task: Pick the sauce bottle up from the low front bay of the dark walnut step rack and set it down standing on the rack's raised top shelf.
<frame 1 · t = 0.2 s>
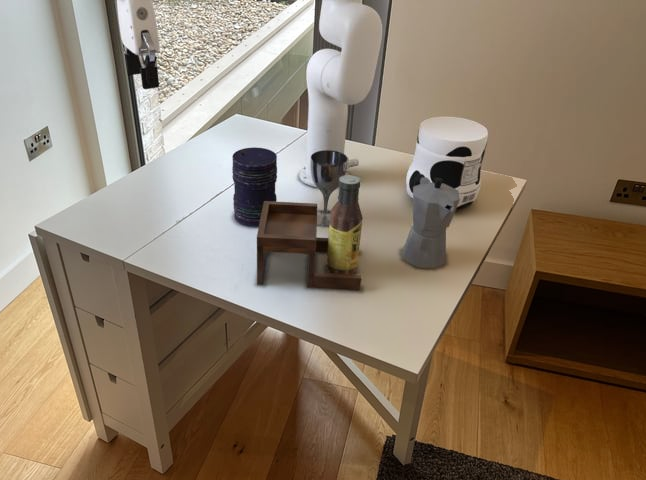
hand: (143, 80, 116), 31 cm above the table, tool pointing down, fingers open, 9 cm apart
sauce bottle: (341, 269, 119), on the table
step rack: (309, 267, 120), on the table
milk container: (439, 199, 144), on the table
dark blue cylinder: (255, 217, 136), on the table
coffeepot: (421, 255, 124), on the table
wine glass: (324, 219, 136), on the table
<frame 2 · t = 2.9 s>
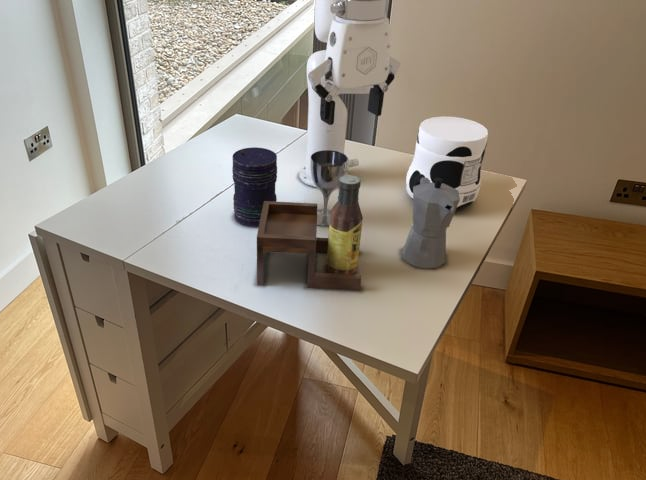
hand: (351, 117, 100), 31 cm above the table, tool pointing down, fingers open, 9 cm apart
nothing on the table moved.
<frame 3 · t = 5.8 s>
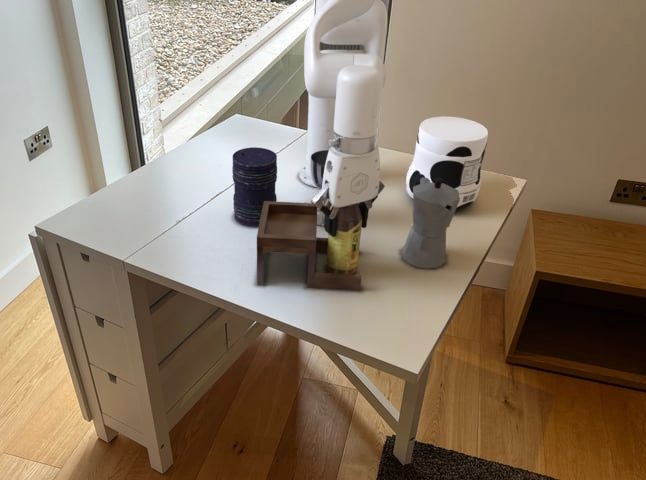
hand: (345, 228, 113), 10 cm above the table, tool pointing down, fingers closed on sauce bottle, 6 cm apart
sauce bottle: (341, 269, 119), on the table, touching gripper
everything else where it was.
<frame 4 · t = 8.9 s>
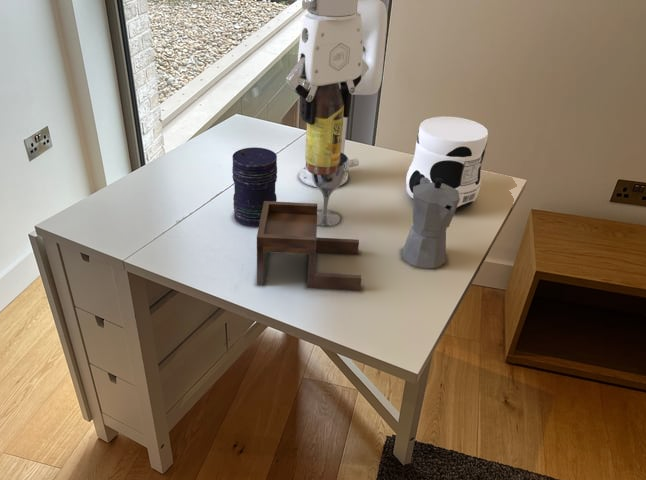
hand: (325, 117, 101), 31 cm above the table, tool pointing down, fingers closed on sauce bottle, 6 cm apart
sauce bottle: (322, 170, 107), point 22 cm above the table, touching gripper
everything else where it was.
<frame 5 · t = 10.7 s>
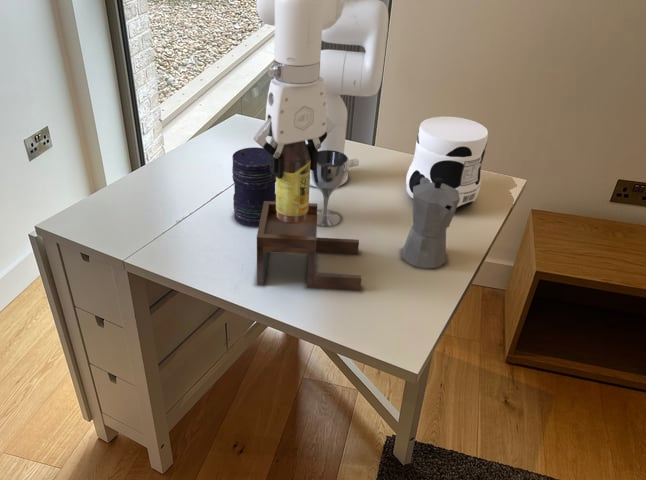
hand: (293, 170, 107), 21 cm above the table, tool pointing down, fingers closed on sauce bottle, 6 cm apart
sauce bottle: (292, 217, 113), point 11 cm above the table, touching gripper
everything else where it was.
when the fingers open (19 cm above the table, at t = 12.0 s): sauce bottle stays where it is, resting on step rack.
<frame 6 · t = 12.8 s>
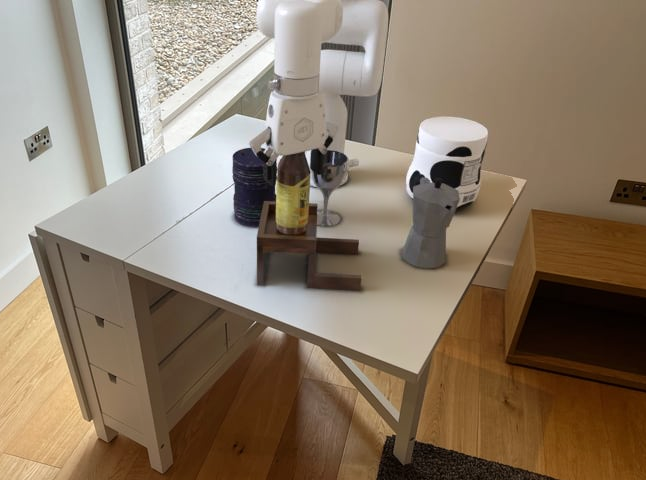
hand: (293, 177, 108), 20 cm above the table, tool pointing down, fingers open, 9 cm apart
sauce bottle: (291, 229, 114), point 9 cm above the table, touching step rack
everything else where it was.
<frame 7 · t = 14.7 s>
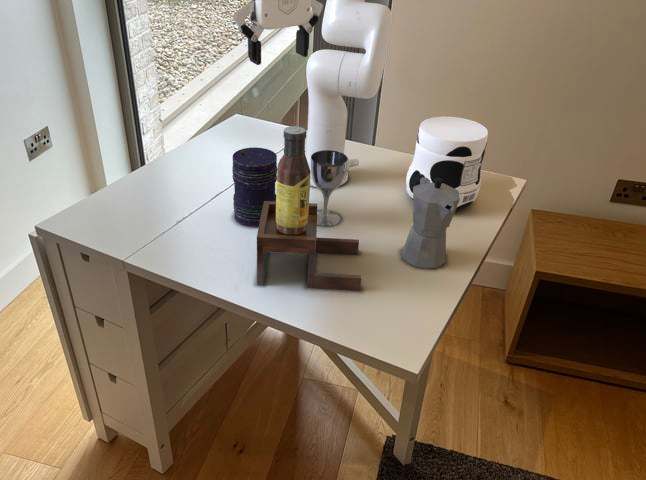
hand: (278, 58, 106), 38 cm above the table, tool pointing down, fingers open, 9 cm apart
nothing on the table moved.
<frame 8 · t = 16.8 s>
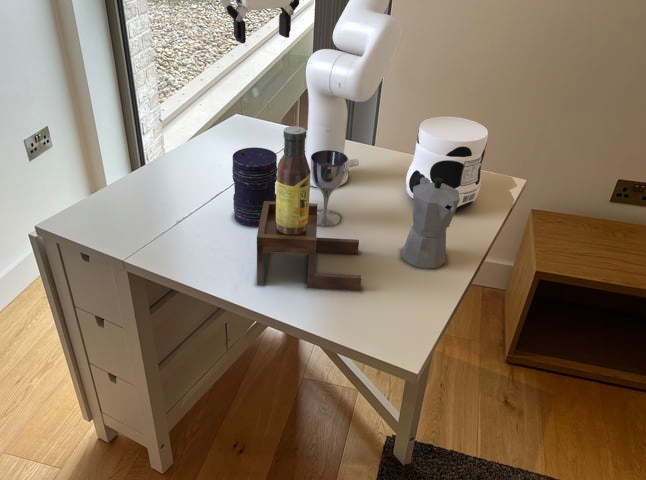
hand: (262, 39, 115), 38 cm above the table, tool pointing down, fingers open, 9 cm apart
nothing on the table moved.
at the end: sauce bottle 0.0 cm from the target spot on the step rack, point 8.8 cm above the step rack's base; sauce bottle tilted 0°; the gripper is holding nothing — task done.
